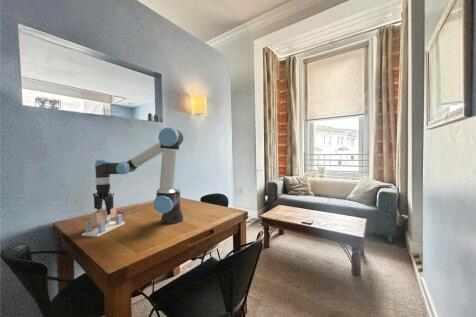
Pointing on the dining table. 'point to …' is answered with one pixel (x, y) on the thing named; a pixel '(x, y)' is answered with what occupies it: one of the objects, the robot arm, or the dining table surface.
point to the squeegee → (126, 213)
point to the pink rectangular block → (101, 216)
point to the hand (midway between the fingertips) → (104, 219)
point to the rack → (102, 226)
